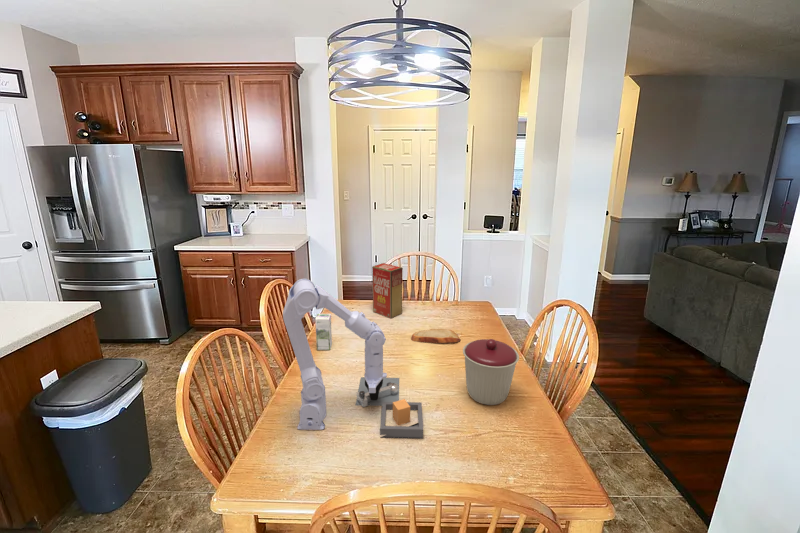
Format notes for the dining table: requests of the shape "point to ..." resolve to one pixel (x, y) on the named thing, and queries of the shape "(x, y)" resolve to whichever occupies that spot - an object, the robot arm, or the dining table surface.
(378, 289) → the food packaging
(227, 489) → the dining table surface
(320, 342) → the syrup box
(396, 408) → the block
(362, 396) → the crank
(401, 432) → the tray
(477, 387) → the canister
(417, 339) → the slice of bread
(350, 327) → the robot arm
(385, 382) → the crank board
